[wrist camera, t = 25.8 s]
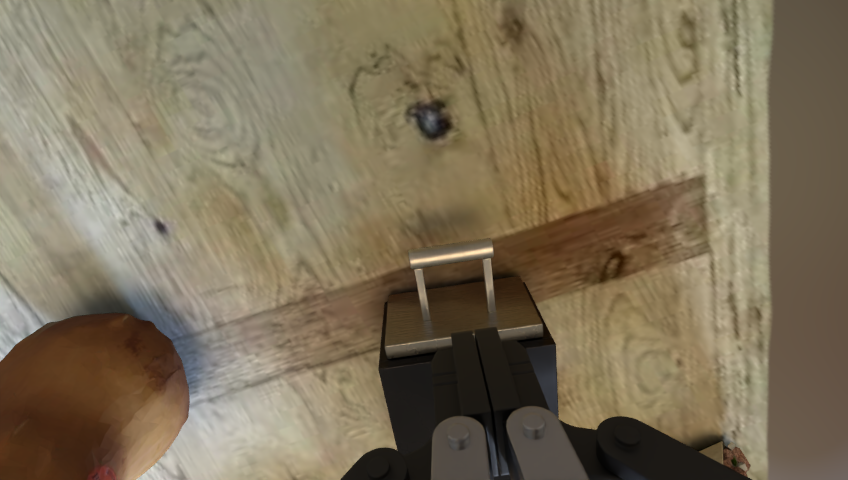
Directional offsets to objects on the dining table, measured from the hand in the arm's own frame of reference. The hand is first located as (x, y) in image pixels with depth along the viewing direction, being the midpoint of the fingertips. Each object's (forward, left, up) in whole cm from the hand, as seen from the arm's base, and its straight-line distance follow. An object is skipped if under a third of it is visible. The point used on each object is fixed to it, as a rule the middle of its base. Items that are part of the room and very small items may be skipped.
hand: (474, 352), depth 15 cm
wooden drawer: (+10, -9, -22) cm, 26 cm away
